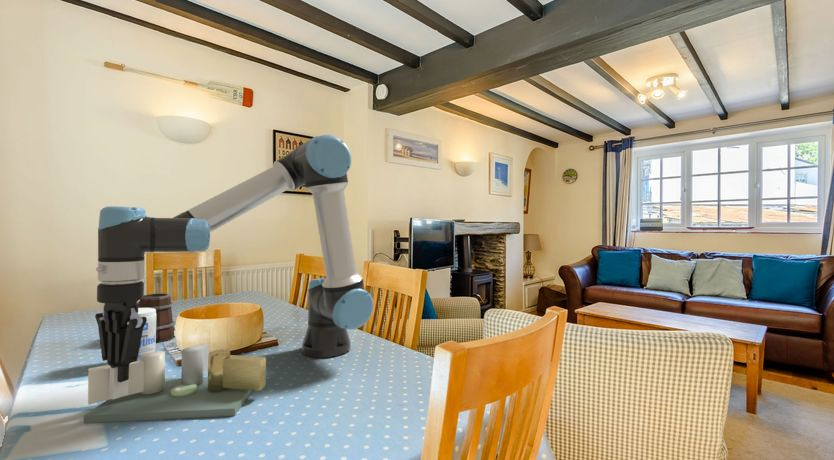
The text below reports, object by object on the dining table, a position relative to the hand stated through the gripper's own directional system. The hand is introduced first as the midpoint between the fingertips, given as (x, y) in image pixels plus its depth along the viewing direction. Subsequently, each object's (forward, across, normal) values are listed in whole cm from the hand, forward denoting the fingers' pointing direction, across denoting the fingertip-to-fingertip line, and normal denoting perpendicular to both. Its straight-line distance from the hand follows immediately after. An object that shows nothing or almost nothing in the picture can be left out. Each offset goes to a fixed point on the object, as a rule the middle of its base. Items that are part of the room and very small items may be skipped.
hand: (118, 396), depth 75 cm
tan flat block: (+2, +15, +15) cm, 22 cm away
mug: (+3, -47, +35) cm, 59 cm away
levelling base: (+4, +6, +10) cm, 12 cm away
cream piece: (+2, -3, +3) cm, 5 cm away
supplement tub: (+4, -27, +19) cm, 33 cm away
